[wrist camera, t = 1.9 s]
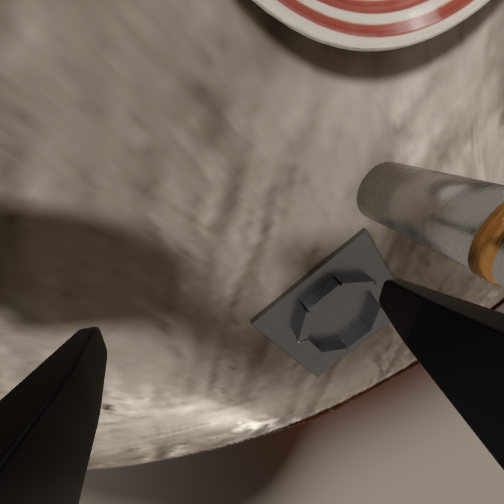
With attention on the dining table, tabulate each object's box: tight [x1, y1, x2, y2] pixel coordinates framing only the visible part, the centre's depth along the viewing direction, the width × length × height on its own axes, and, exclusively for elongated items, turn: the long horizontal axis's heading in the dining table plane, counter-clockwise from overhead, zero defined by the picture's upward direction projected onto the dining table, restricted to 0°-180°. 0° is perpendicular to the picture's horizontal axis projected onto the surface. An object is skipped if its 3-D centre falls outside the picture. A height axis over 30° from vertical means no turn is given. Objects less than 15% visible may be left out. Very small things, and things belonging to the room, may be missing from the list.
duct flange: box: [250, 229, 393, 377], centre depth 28 cm, size 14×14×2 cm
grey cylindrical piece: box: [357, 162, 504, 287], centre depth 18 cm, size 5×5×12 cm
